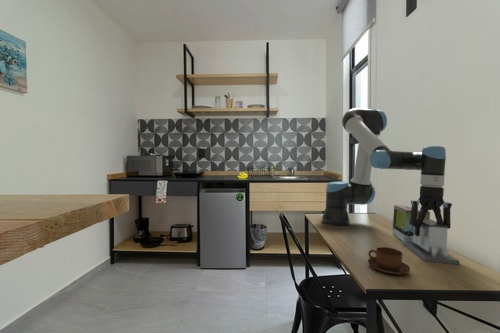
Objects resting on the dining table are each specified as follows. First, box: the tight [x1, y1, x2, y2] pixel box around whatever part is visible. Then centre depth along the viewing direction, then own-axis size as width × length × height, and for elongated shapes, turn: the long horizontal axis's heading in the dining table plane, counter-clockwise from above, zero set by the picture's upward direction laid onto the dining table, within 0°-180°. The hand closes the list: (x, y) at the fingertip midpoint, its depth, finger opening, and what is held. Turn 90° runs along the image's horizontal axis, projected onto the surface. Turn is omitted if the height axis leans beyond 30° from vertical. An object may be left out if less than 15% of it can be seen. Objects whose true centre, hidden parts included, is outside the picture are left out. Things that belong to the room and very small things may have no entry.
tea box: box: [392, 204, 431, 243], centre depth 119 cm, size 15×10×15 cm
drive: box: [413, 219, 449, 253], centre depth 100 cm, size 12×6×10 cm, turn 171°
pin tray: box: [402, 236, 460, 265], centre depth 100 cm, size 19×11×4 cm, turn 171°
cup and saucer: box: [368, 246, 411, 276], centre depth 83 cm, size 12×12×6 cm
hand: (428, 244), depth 100 cm, fingers closed on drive, 6 cm apart
